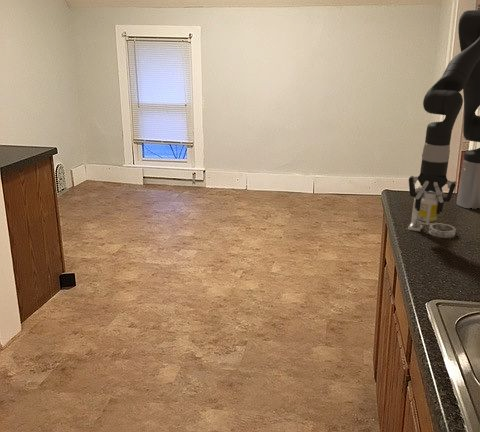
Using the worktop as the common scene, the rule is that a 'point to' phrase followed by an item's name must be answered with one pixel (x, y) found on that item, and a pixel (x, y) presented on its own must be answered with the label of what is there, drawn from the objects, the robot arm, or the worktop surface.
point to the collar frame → (431, 226)
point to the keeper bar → (419, 190)
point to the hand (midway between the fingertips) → (428, 211)
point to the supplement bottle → (428, 208)
